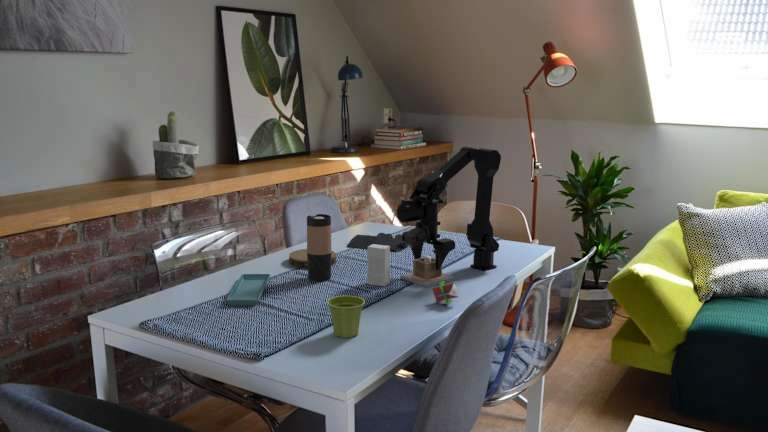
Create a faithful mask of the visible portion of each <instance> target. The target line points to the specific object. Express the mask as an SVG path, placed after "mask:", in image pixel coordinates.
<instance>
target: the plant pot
mask: <svg viewBox="0 0 768 432" xmlns="http://www.w3.org/2000/svg"><path fill="white" fill-rule="evenodd" d="M365 303H366V300H365V299H364V298H362V297H359V296H354V295H337V296H333V297H331V298H328V299H327V301H326V304H327V305H328V308H329V310H330V311H329V312H330V315H331V322H332V328H333V335H334V336H335V337H336V336H338V337H340V338H343V339H349V338H353V337H355V336H358V335H359V328H360V322H361V316H362V310H363V307H364V305H365Z"/></svg>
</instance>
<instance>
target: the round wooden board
mask: <svg viewBox="0 0 768 432" xmlns="http://www.w3.org/2000/svg"><path fill="white" fill-rule="evenodd" d="M331 253H332V254H331V266H333V265H335V264H336V263H337V254H336V252H335V251H333V250H332V252H331ZM288 257H289V260H288V263H289V265H290V266H292V267H295V268H300V269H308V261H307V248H301V249H298V250H297V249H296V250H293V251H291V252H290V253H289V254H288Z"/></svg>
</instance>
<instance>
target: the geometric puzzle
mask: <svg viewBox="0 0 768 432" xmlns="http://www.w3.org/2000/svg"><path fill="white" fill-rule="evenodd" d="M432 293H433V295H434V299H435V301H436V303H442V305H444V306H445V307H448V305H450V304H451V303H452V301H453V302H454V300H456V299H457V298H459V289H458V287H457V286H456V284H455V283H454V282H451V283H447V282H444V279H443V280H442V281H441V282H440V283H439V284H437V285H436V286H435V287H432Z"/></svg>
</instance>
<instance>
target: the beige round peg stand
mask: <svg viewBox="0 0 768 432" xmlns="http://www.w3.org/2000/svg"><path fill="white" fill-rule="evenodd" d="M423 257H424V262H426V263H429V262H431V257H432V256H431V255H430V256H429V255H425V256H423ZM401 278H402V280H404V279H405V280H404V281H407V282H409V283H413V284H416V285H418V286H421V287H422V286H423V287H424V288H429V287H434V286H438V285H439V283H440V282H441V281H442V280H443V279H444V282H445V283H449V282H451V281H455V276H452V275H449V274H446V273H444V272H442V276H439V277H435V278H432V279H428V280H426V279H423V278H420V277H417V276H414V275H413V271H412V272H407V273H405V274H401V275H400V279H401ZM437 284H438V285H437Z"/></svg>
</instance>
